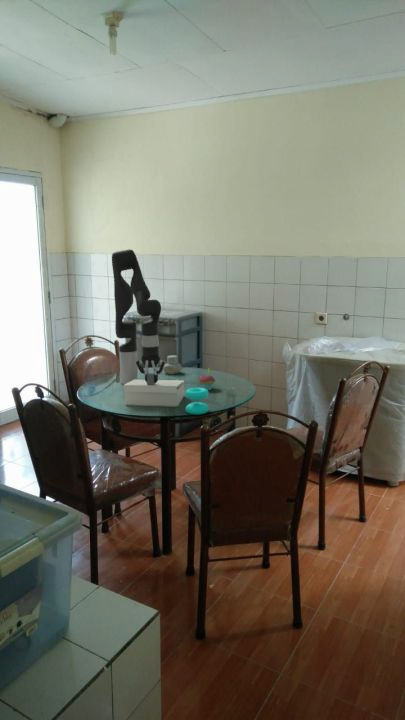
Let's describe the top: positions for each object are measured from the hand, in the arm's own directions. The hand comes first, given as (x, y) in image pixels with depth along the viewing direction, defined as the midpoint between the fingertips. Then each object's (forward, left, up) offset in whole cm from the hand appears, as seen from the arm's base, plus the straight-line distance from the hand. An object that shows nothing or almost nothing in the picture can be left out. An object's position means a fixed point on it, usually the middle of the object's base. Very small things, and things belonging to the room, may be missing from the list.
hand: (151, 382), depth 231 cm
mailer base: (-6, 0, -11) cm, 12 cm away
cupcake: (-29, +21, -11) cm, 38 cm away
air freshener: (-62, -3, -11) cm, 63 cm away
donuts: (+9, +22, -11) cm, 26 cm away
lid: (-5, 0, -5) cm, 7 cm away
